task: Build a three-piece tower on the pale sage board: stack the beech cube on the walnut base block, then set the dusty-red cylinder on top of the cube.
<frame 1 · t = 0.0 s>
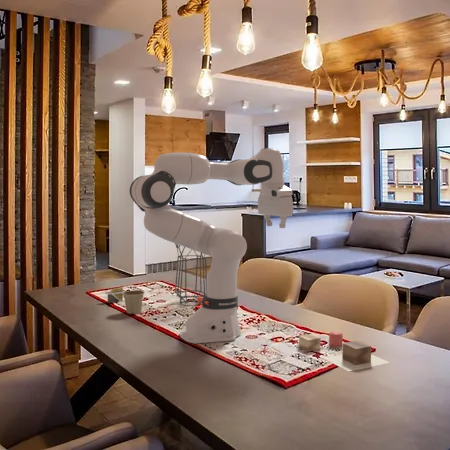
hand: (275, 227, 188), 39 cm above the table, tool pointing down, fingers open, 8 cm apart
flower pot: (133, 312, 212), on the table
geometric lantern: (192, 303, 228), on the table
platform: (116, 302, 232), on the table
red cylinder: (335, 348, 166), on the table
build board: (356, 364, 151), on the table
beech cube: (309, 351, 163), on the table
walnut base: (356, 360, 151), point 1 cm above the table, touching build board
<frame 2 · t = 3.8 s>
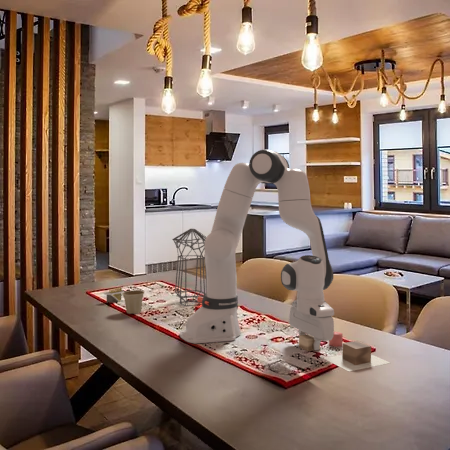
hand: (309, 346, 162), 2 cm above the table, tool pointing down, fingers closed on beech cube, 5 cm apart
beech cube: (309, 351, 163), on the table, touching gripper
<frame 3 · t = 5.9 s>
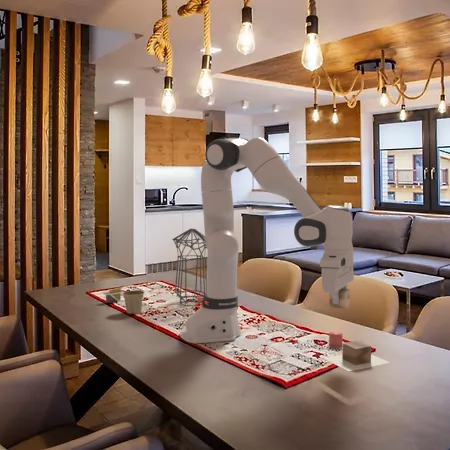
hand: (339, 301, 154), 19 cm above the table, tool pointing down, fingers closed on beech cube, 5 cm apart
beech cube: (339, 306, 154), point 17 cm above the table, touching gripper
when the fingers open (9 cm above the table, at t = 8.2 s): beech cube drops 1 cm, resting on walnut base.
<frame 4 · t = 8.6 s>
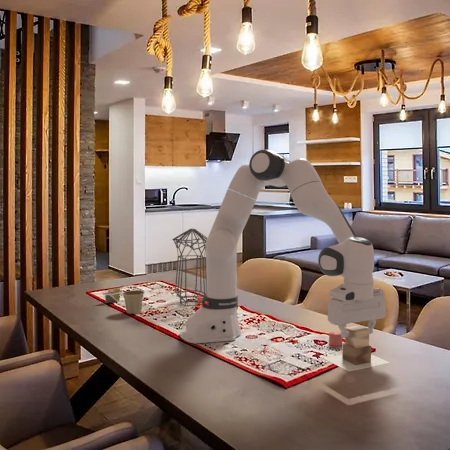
hand: (357, 335, 150), 9 cm above the table, tool pointing down, fingers open, 8 cm apart
beech cube: (356, 344, 150), point 6 cm above the table, touching walnut base
walnut base: (356, 360, 151), point 1 cm above the table, touching beech cube, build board
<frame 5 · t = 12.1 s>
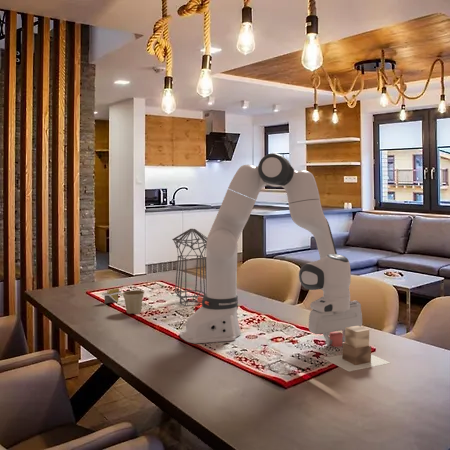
hand: (335, 343, 166), 2 cm above the table, tool pointing down, fingers closed on red cylinder, 4 cm apart
red cylinder: (335, 347, 166), on the table, touching gripper
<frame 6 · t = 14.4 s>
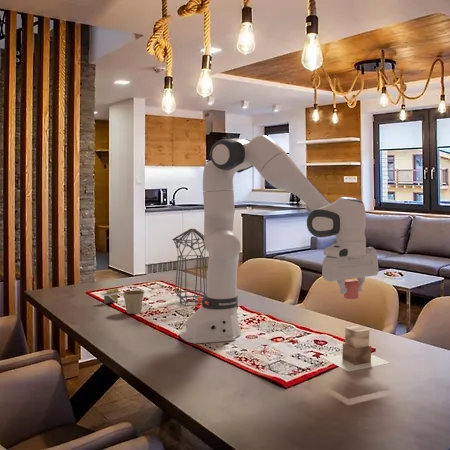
hand: (351, 292, 155), 21 cm above the table, tool pointing down, fingers closed on red cylinder, 4 cm apart
red cylinder: (351, 297, 155), point 20 cm above the table, touching gripper
when the fingers open (14 cm above the table, at t = 16.8 s): red cylinder drops 1 cm, resting on beech cube.
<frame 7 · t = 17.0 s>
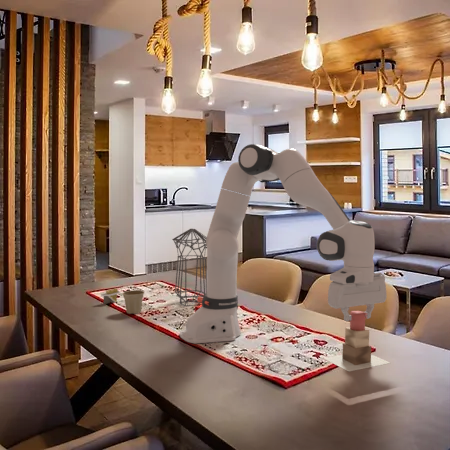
hand: (357, 319, 150), 14 cm above the table, tool pointing down, fingers open, 6 cm apart
red cylinder: (357, 328, 150), point 11 cm above the table, touching beech cube
beech cube: (356, 344, 150), point 6 cm above the table, touching red cylinder, walnut base
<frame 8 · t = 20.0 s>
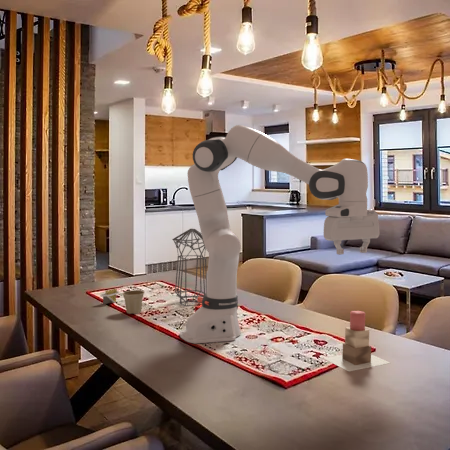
hand: (351, 253, 157), 33 cm above the table, tool pointing down, fingers open, 8 cm apart
at the end: beech cube 0.1 cm off-centre on the walnut base, point 5.0 cm above the walnut base's base; red cylinder 0.1 cm off-centre on the beech cube, point 5.0 cm above the beech cube's base; red cylinder tilted 0° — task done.
